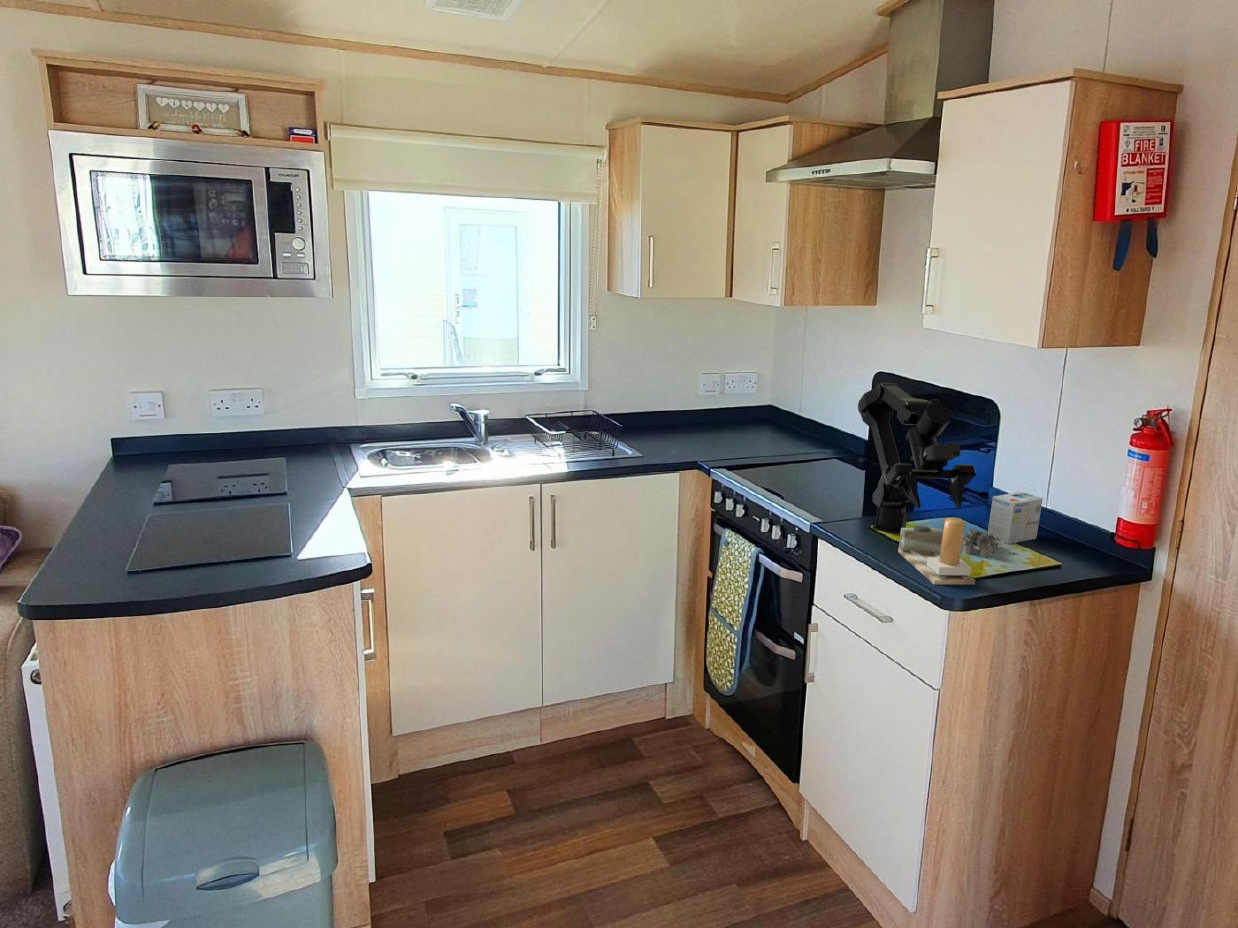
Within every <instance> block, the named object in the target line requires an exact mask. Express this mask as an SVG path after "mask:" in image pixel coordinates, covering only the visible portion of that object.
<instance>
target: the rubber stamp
mask: <svg viewBox="0 0 1238 928" xmlns="http://www.w3.org/2000/svg"><path fill="white" fill-rule="evenodd" d="M965 524H966V522H965V521H964V520H962V519H959V518H954V517H950V518H949V517H948V518H945V519H944V525H943V530H942V531H943V536H942V543H941V551H940V552H941V553H940V557H928V558H927V566H929V567H930V568H931V569H932V570H933V571H934V572H936V573H937V574H938V575H970V576H971V573H972V567H971V566H970V564H968V563H967V562H965V561H964V560H963V559H961V553H962V551H961V547H962V540H963V536H964V531H965Z"/></svg>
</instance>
